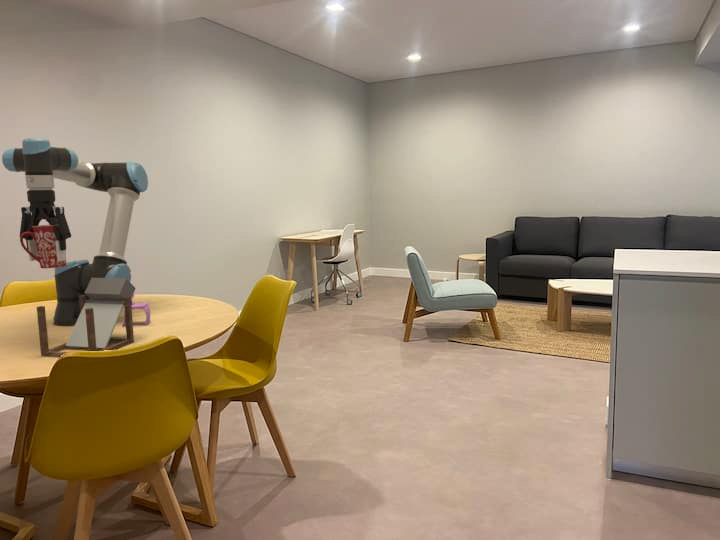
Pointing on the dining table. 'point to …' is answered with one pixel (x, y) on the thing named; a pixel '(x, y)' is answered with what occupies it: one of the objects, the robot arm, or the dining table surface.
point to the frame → (90, 330)
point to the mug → (44, 246)
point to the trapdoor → (101, 310)
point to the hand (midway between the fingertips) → (47, 260)
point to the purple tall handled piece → (140, 306)
